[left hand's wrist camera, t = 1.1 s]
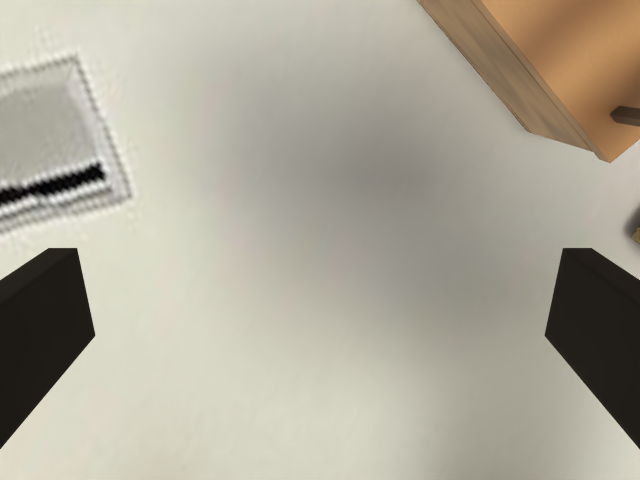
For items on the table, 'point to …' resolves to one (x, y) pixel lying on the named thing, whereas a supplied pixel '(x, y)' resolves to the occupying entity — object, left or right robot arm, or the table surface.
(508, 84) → the chest
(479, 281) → the table surface
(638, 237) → the sculpture
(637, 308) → the left robot arm
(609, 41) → the lid
